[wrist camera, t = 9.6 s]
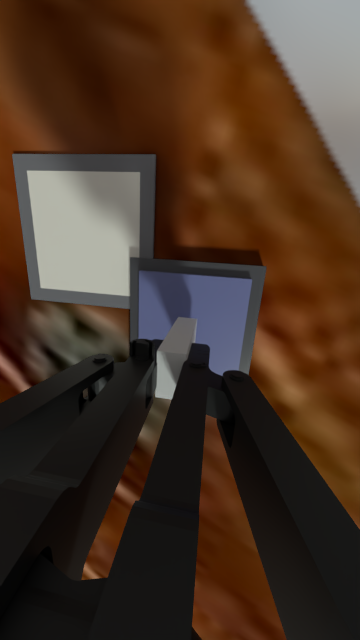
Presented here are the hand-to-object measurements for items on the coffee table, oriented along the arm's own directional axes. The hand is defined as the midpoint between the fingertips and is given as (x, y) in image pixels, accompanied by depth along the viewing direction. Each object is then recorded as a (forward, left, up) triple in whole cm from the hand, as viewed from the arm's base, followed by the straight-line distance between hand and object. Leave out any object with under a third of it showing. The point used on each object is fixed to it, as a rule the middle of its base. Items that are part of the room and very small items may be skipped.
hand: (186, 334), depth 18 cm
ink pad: (0, 0, -3) cm, 3 cm away
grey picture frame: (-10, +7, -3) cm, 13 cm away
